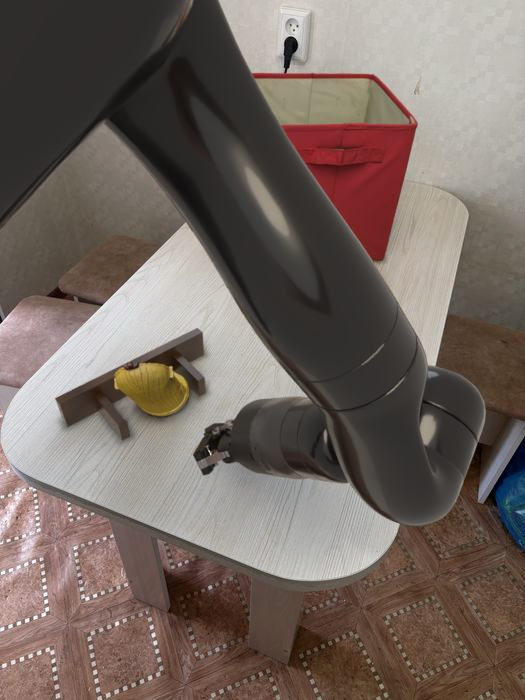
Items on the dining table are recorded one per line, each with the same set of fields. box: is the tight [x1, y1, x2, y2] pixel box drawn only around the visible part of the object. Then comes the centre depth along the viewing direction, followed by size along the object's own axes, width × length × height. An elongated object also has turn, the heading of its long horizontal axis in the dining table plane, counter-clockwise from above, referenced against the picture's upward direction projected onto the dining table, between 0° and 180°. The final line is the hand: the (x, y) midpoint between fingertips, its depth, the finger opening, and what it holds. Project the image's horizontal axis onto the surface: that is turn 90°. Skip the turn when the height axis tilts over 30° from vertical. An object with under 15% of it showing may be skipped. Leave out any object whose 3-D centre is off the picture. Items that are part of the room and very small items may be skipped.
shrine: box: [114, 361, 191, 418], centre depth 70 cm, size 12×8×15 cm
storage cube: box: [251, 72, 419, 262], centre depth 105 cm, size 32×28×29 cm
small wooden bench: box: [54, 327, 206, 441], centre depth 75 cm, size 24×8×5 cm, turn 131°
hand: (211, 433), depth 63 cm, fingers closed
